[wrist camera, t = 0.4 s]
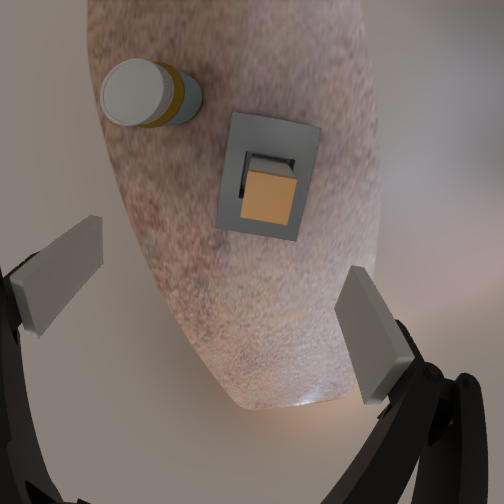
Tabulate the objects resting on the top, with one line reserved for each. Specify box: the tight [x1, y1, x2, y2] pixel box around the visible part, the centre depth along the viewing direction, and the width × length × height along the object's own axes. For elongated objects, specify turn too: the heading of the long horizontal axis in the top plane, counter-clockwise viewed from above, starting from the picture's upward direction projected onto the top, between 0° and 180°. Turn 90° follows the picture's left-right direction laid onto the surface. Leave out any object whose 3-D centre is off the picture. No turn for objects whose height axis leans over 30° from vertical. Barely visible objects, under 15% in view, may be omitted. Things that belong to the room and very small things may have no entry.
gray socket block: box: [215, 112, 322, 241], centre depth 35 cm, size 14×10×6 cm
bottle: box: [100, 58, 203, 128], centre depth 27 cm, size 7×7×15 cm
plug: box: [240, 153, 297, 225], centre depth 31 cm, size 4×4×13 cm
